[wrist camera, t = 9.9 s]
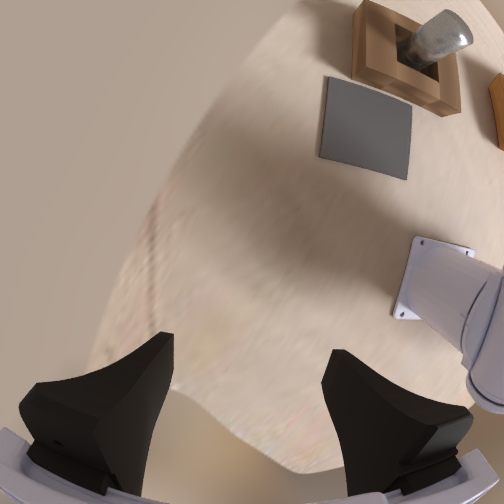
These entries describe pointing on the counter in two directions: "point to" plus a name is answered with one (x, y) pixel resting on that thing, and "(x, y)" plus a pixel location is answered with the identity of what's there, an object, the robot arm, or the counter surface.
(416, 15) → the counter surface
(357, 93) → the mat
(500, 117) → the soap dish
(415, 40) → the peg
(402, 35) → the block
